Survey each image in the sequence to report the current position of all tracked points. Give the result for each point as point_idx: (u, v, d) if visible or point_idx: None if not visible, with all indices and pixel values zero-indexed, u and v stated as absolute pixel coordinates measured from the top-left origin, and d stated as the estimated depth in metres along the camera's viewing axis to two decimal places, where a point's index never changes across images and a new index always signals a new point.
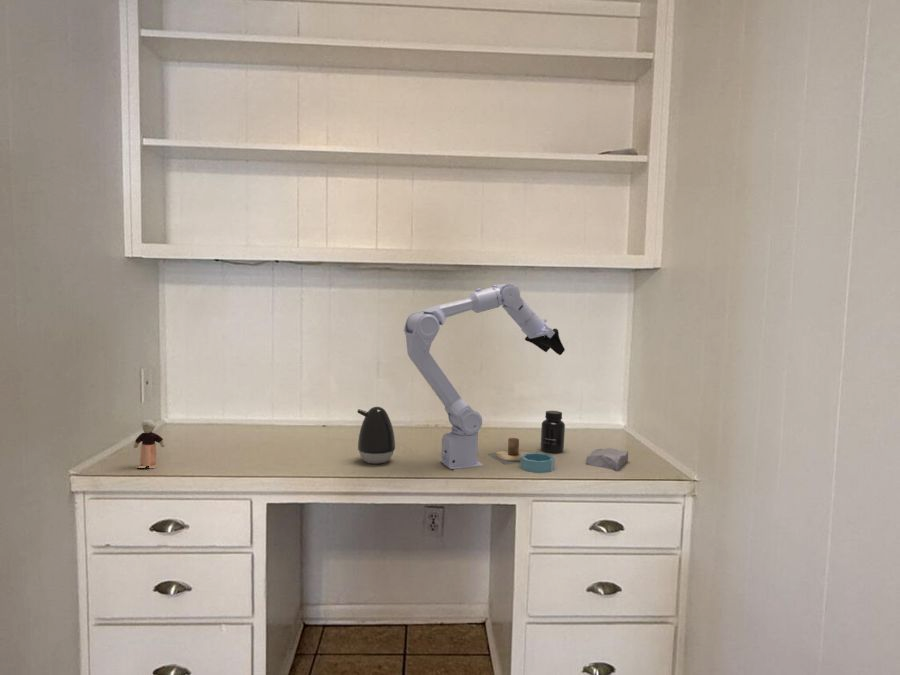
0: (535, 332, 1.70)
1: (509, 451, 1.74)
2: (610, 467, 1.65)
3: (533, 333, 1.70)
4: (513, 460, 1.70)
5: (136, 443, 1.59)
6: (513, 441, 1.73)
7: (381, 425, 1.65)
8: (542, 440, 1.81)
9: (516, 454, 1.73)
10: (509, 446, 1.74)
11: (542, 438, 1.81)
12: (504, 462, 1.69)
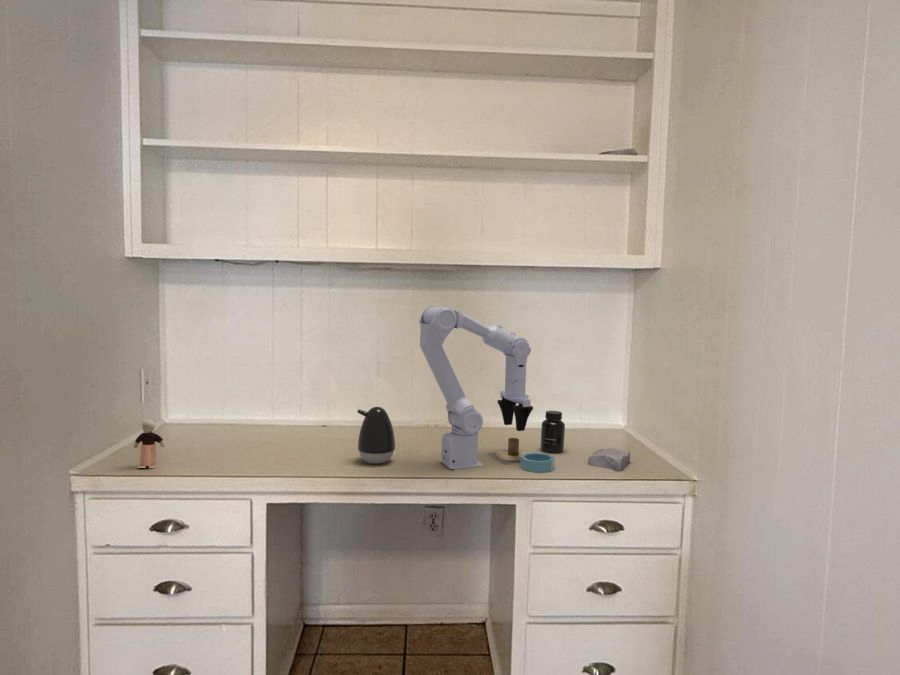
0: (514, 395, 1.70)
1: (509, 451, 1.74)
2: (612, 467, 1.65)
3: (512, 395, 1.71)
4: (513, 460, 1.70)
5: (136, 443, 1.59)
6: (513, 441, 1.73)
7: (381, 425, 1.65)
8: (542, 440, 1.81)
9: (516, 454, 1.73)
10: (509, 446, 1.74)
11: (542, 438, 1.81)
12: (504, 462, 1.69)
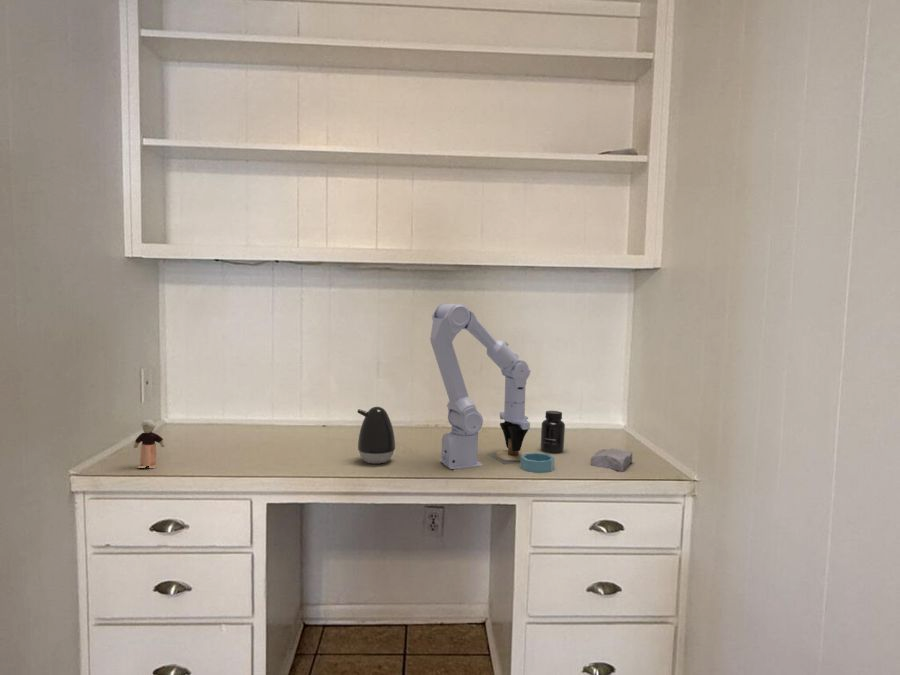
0: (513, 418, 1.71)
1: (509, 451, 1.74)
2: (615, 468, 1.65)
3: (511, 417, 1.71)
4: (513, 460, 1.70)
5: (136, 443, 1.59)
6: None
7: (381, 425, 1.65)
8: (542, 440, 1.81)
9: (516, 454, 1.73)
10: (509, 446, 1.74)
11: (542, 438, 1.81)
12: (504, 462, 1.69)
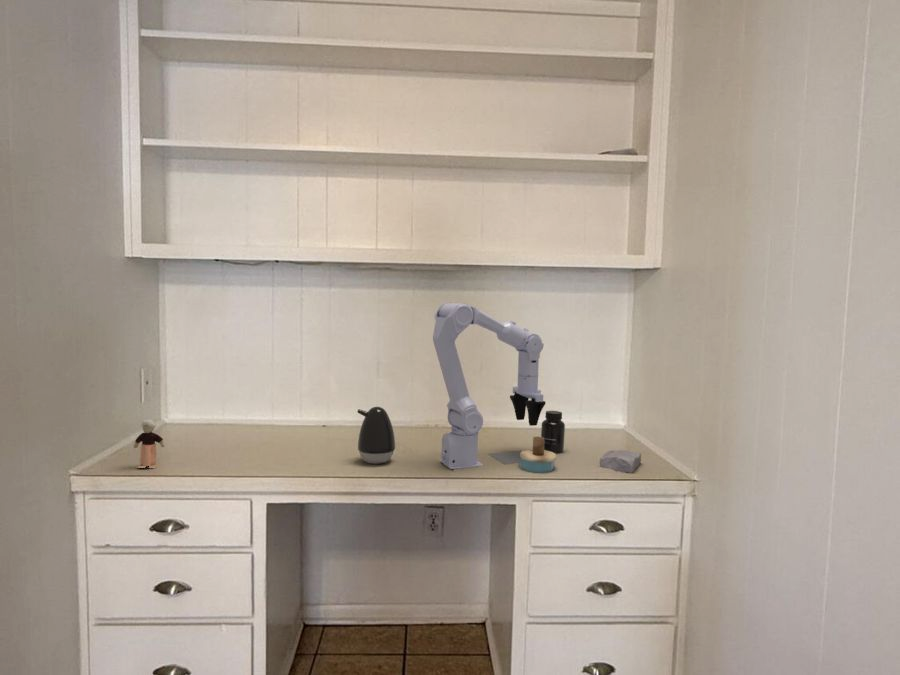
0: (527, 391, 1.73)
1: (534, 451, 1.64)
2: (624, 469, 1.64)
3: (524, 390, 1.73)
4: (538, 460, 1.60)
5: (136, 443, 1.59)
6: (538, 440, 1.63)
7: (381, 425, 1.65)
8: None
9: (541, 454, 1.63)
10: (534, 445, 1.64)
11: None
12: (504, 462, 1.69)
